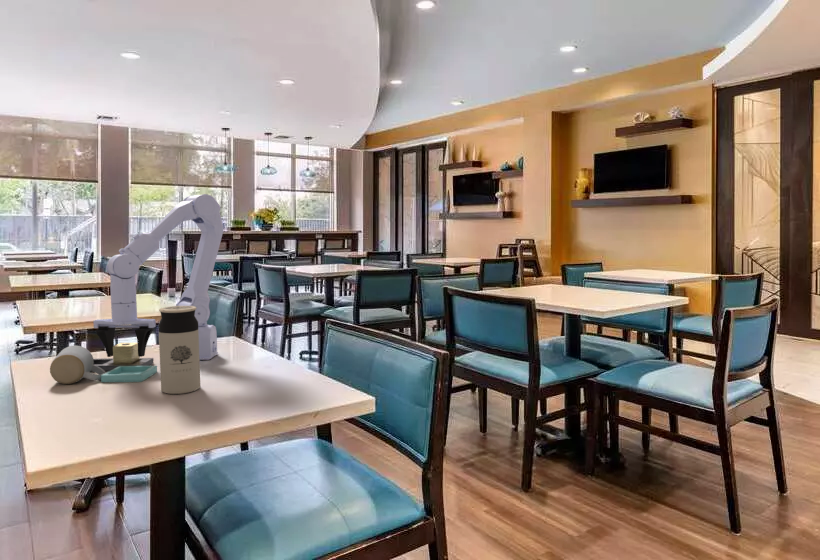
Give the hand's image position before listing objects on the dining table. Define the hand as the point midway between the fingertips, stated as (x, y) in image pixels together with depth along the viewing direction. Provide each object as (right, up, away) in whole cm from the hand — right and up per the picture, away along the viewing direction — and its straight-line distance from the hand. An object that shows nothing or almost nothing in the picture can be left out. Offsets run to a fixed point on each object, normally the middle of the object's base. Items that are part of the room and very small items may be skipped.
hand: (126, 356), depth 146 cm
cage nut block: (0, -3, 0) cm, 3 cm away
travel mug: (+22, -5, -20) cm, 30 cm away
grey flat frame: (-4, -3, 0) cm, 5 cm away
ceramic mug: (-5, -4, -12) cm, 13 cm away
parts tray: (+5, -4, -9) cm, 11 cm away
